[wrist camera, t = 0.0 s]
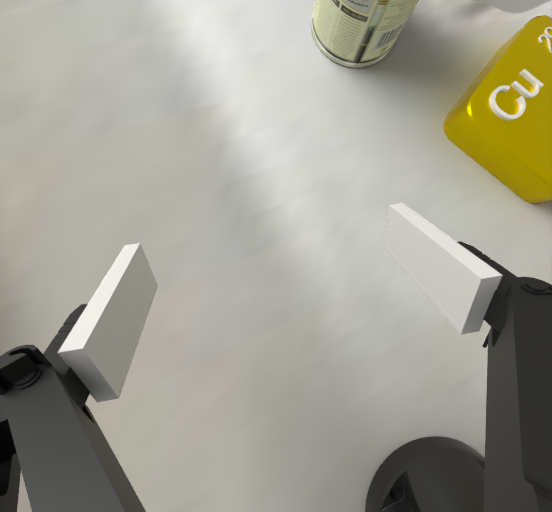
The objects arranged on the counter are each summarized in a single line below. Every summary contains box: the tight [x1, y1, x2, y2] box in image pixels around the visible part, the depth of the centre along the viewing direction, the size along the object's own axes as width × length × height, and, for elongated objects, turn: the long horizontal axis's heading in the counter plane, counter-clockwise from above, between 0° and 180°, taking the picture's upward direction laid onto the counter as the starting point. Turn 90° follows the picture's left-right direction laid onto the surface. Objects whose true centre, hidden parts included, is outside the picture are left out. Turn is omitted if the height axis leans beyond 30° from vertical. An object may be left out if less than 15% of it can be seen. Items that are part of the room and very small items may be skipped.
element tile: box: [444, 15, 552, 204], centre depth 31 cm, size 15×15×5 cm
